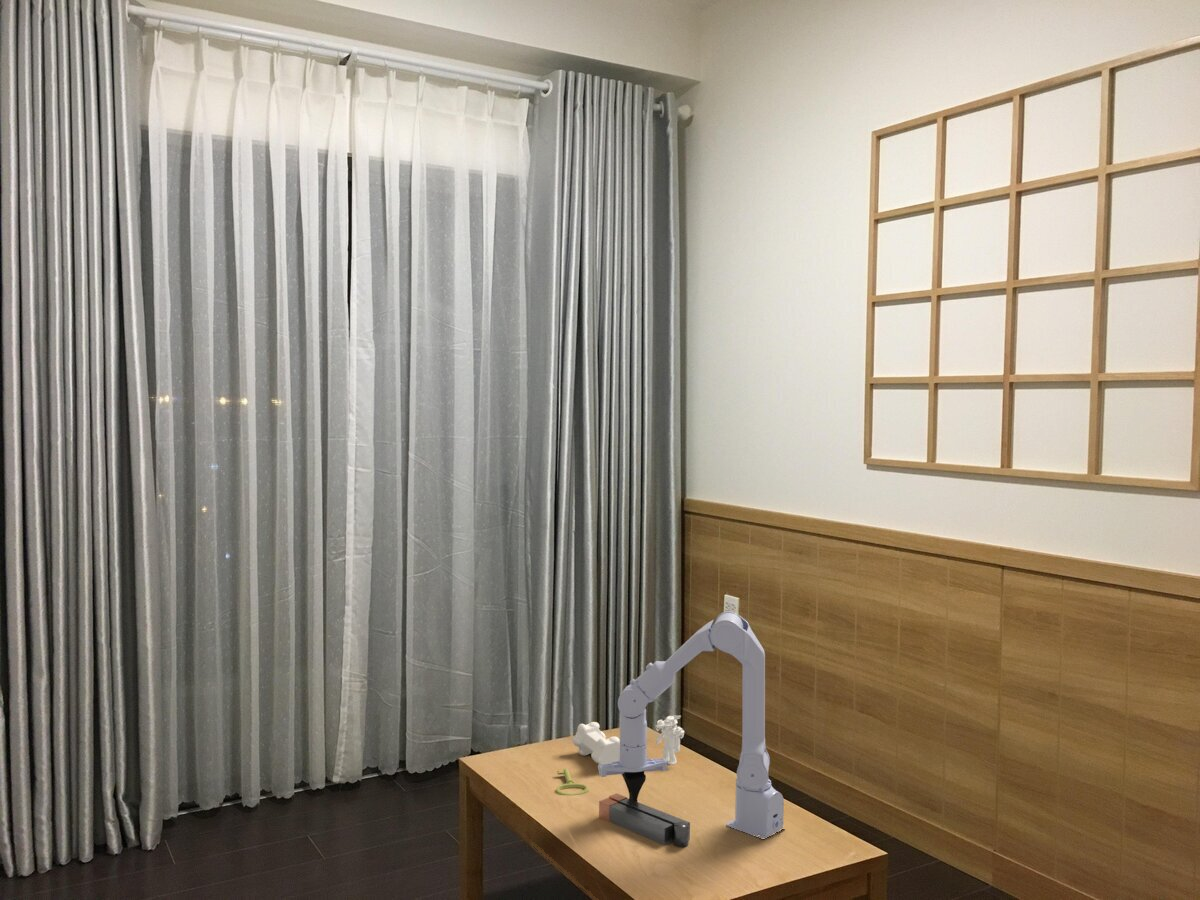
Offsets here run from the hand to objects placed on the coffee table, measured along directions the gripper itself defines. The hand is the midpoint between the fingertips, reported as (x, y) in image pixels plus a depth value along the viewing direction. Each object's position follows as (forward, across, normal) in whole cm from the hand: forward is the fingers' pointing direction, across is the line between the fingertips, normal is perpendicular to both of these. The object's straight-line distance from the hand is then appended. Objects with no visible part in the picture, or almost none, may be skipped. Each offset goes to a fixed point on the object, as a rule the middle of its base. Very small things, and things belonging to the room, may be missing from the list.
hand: (633, 806), depth 204 cm
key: (+2, +9, -18) cm, 21 cm away
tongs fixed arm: (+2, +2, +7) cm, 8 cm away
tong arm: (+2, -1, +8) cm, 8 cm away
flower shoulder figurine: (+2, -18, -27) cm, 33 cm away
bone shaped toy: (+2, -1, -32) cm, 32 cm away
